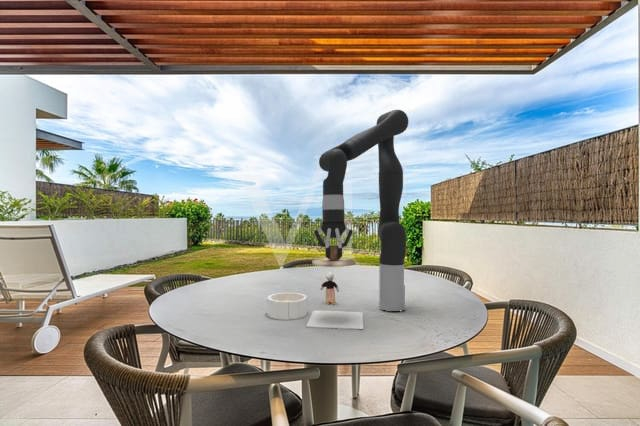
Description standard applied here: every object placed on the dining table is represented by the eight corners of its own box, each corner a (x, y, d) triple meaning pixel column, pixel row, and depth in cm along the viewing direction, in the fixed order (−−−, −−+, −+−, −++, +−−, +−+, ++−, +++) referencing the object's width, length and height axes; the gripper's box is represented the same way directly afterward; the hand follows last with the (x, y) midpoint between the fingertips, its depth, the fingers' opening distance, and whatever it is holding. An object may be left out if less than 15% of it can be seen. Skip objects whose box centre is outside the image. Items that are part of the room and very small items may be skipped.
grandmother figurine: (339, 302, 139) (339, 271, 139) (339, 305, 135) (339, 273, 136) (320, 302, 140) (320, 271, 140) (319, 304, 136) (319, 272, 136)
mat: (362, 313, 124) (362, 312, 124) (363, 329, 106) (363, 328, 106) (313, 311, 126) (313, 310, 126) (306, 327, 108) (306, 326, 108)
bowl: (309, 309, 130) (309, 293, 130) (303, 320, 116) (303, 302, 116) (273, 307, 131) (273, 292, 131) (263, 318, 117) (263, 301, 117)
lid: (356, 260, 124) (356, 243, 124) (355, 266, 109) (355, 248, 109) (315, 260, 125) (315, 244, 125) (309, 266, 111) (308, 248, 111)
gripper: (354, 208, 120) (354, 257, 120) (314, 208, 122) (315, 257, 122) (353, 208, 113) (354, 260, 113) (311, 208, 114) (312, 260, 114)
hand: (333, 258), depth 117 cm, fingers closed on lid, 3 cm apart
